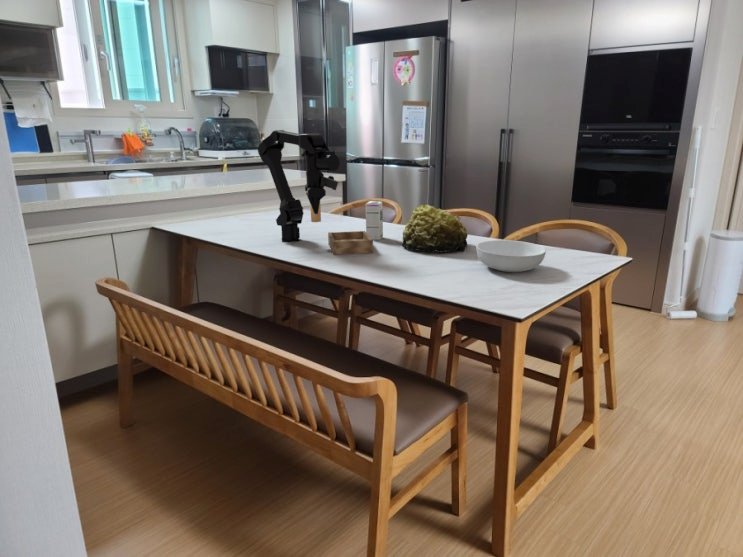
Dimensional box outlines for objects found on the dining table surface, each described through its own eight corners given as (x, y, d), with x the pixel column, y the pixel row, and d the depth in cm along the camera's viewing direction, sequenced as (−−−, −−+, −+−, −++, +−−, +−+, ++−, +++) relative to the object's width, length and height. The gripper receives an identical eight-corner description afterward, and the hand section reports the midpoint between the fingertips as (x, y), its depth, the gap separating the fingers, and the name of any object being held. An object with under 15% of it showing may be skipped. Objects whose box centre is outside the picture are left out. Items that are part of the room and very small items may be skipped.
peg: (311, 222, 187) (310, 197, 185) (310, 220, 191) (309, 196, 188) (321, 221, 188) (320, 197, 185) (320, 220, 191) (319, 196, 189)
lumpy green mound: (390, 243, 196) (390, 202, 191) (445, 237, 205) (447, 198, 200) (420, 258, 174) (421, 212, 169) (480, 251, 182) (483, 207, 178)
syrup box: (380, 240, 200) (380, 203, 196) (365, 239, 201) (365, 202, 197) (383, 237, 206) (383, 201, 201) (368, 236, 207) (368, 200, 203)
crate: (333, 254, 178) (333, 242, 177) (328, 244, 194) (328, 232, 193) (372, 252, 180) (372, 240, 179) (364, 242, 197) (364, 230, 195)
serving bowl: (502, 281, 147) (504, 258, 145) (462, 264, 165) (463, 243, 163) (559, 273, 155) (561, 251, 153) (514, 257, 173) (516, 237, 171)
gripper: (339, 171, 177) (340, 216, 181) (333, 167, 194) (334, 208, 199) (307, 172, 175) (309, 217, 179) (303, 168, 192) (305, 209, 197)
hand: (315, 213), depth 188 cm, fingers closed on peg, 4 cm apart
